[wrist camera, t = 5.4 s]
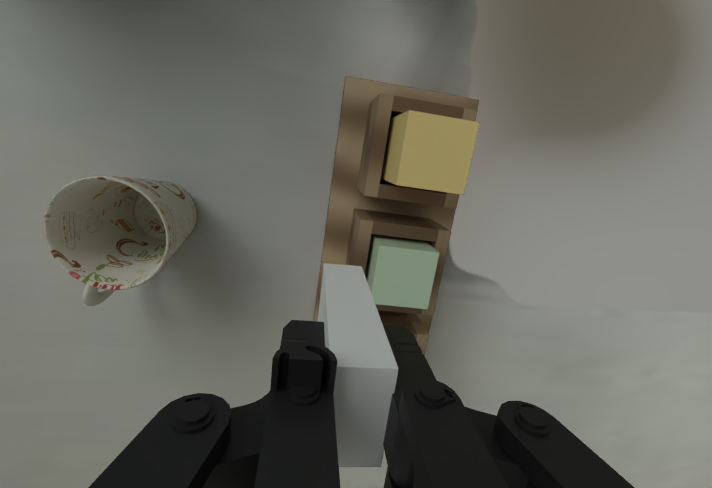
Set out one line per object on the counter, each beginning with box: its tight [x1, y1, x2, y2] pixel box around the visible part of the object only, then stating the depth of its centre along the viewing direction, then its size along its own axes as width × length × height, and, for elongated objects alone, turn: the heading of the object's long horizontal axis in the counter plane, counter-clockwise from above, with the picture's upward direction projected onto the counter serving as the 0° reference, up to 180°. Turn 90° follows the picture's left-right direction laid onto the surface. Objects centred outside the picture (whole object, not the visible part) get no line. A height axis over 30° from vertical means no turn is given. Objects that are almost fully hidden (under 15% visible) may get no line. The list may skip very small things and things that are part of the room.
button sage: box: [365, 234, 439, 309], centre depth 33 cm, size 5×5×7 cm
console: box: [314, 76, 479, 354], centre depth 35 cm, size 32×13×7 cm, turn 171°
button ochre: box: [381, 110, 480, 195], centre depth 28 cm, size 5×5×7 cm
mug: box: [44, 176, 197, 306], centre depth 31 cm, size 8×13×10 cm, turn 150°
